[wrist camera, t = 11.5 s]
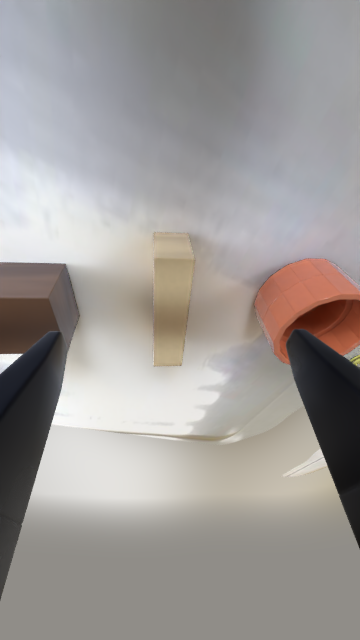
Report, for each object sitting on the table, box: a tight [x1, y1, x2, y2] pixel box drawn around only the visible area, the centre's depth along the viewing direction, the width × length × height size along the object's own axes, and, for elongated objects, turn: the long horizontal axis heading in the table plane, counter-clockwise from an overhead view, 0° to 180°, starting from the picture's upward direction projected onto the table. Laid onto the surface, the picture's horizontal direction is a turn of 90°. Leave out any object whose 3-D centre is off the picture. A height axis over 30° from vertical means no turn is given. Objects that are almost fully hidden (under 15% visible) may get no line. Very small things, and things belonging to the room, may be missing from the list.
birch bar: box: [153, 232, 195, 366], centre depth 21 cm, size 11×3×4 cm, turn 176°
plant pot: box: [254, 259, 360, 365], centre depth 21 cm, size 8×8×6 cm
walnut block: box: [0, 262, 79, 354], centre depth 19 cm, size 6×6×4 cm
